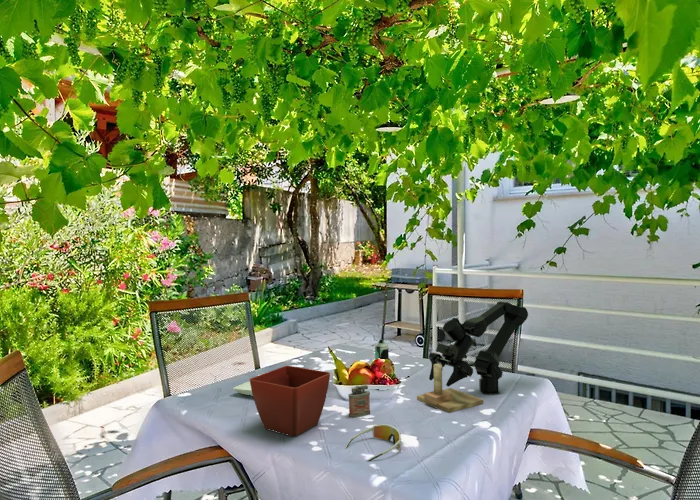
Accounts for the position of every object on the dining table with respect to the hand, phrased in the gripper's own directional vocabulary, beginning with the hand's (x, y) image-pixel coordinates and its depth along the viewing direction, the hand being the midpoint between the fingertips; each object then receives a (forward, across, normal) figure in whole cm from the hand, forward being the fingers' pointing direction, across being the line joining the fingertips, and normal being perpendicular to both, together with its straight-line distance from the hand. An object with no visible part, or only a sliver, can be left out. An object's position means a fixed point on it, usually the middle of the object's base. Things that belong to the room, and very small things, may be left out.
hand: (438, 382), depth 176 cm
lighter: (+27, -7, -15) cm, 31 cm away
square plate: (+36, -48, -24) cm, 64 cm away
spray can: (+10, -27, +2) cm, 29 cm away
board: (+2, 0, +9) cm, 10 cm away
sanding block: (+5, 0, +4) cm, 6 cm away
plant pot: (+44, -10, -32) cm, 55 cm away
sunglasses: (+34, +18, -22) cm, 45 cm away
